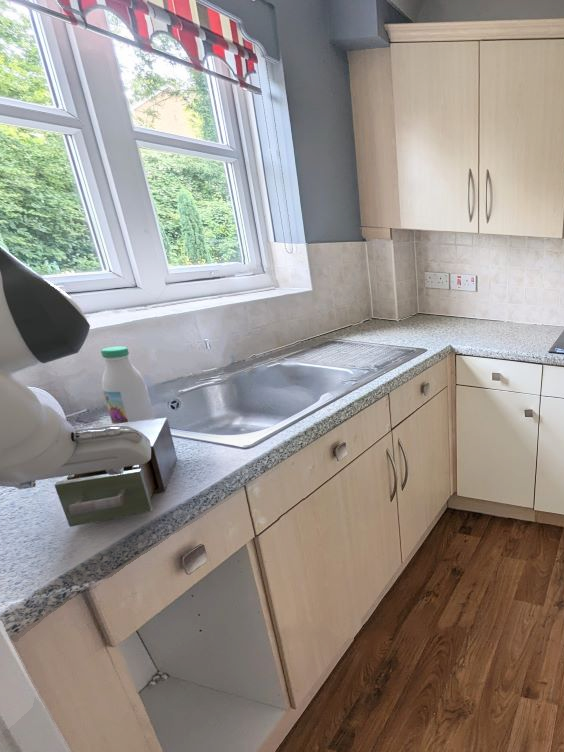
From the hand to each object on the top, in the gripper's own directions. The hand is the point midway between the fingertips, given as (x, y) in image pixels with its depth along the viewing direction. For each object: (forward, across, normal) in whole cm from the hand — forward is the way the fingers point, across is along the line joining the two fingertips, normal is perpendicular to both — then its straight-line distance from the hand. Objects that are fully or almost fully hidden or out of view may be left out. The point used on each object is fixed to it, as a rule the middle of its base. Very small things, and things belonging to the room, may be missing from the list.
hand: (74, 475), depth 65 cm
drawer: (+17, 0, 0) cm, 17 cm away
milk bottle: (+46, +5, -28) cm, 54 cm away
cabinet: (+26, 0, -7) cm, 26 cm away
